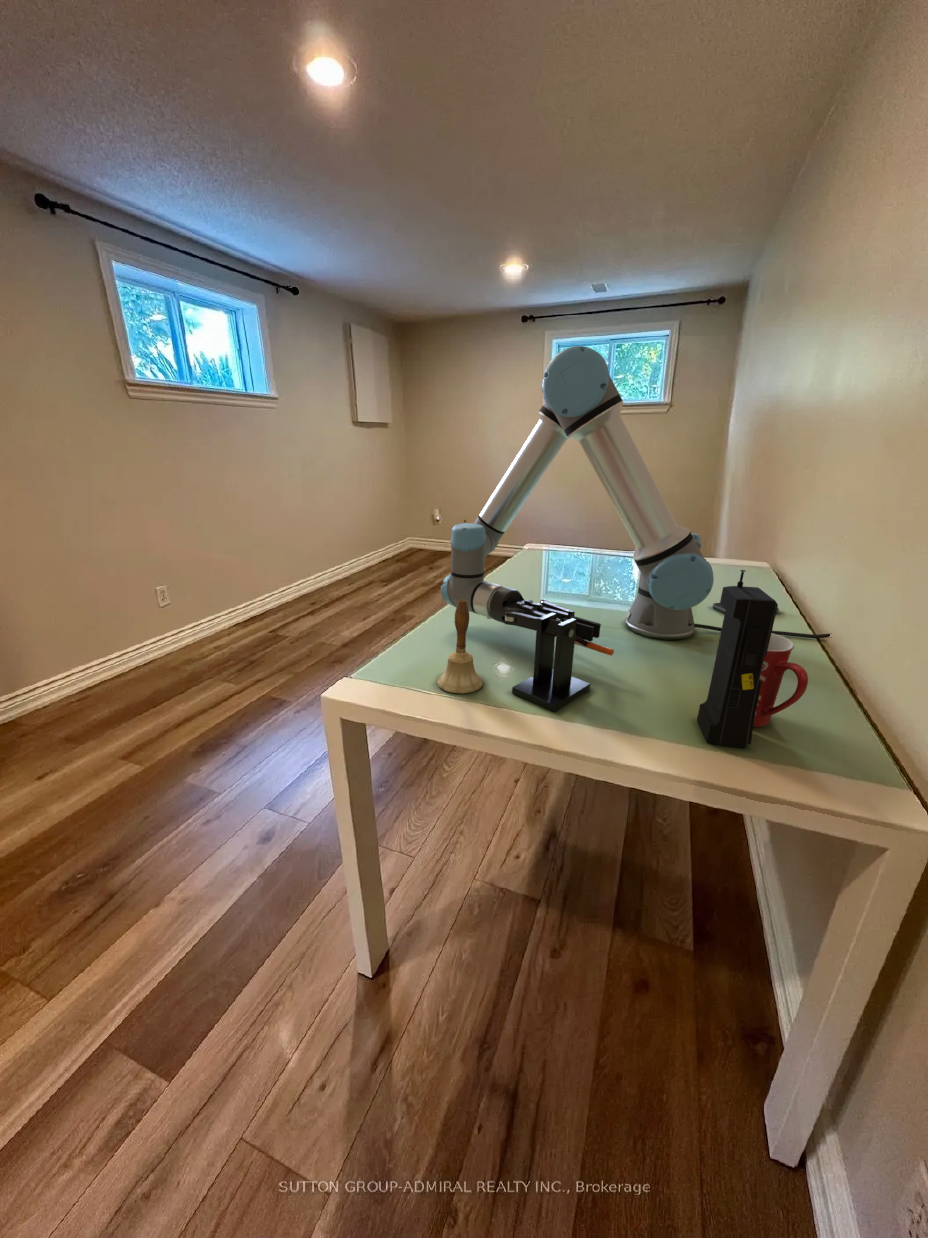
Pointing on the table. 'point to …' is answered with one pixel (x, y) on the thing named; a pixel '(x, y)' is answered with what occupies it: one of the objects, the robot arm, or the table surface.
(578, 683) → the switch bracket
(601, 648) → the switch lever
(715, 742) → the portable radio
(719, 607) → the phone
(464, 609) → the hand bell
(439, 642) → the table surface
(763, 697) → the mug
